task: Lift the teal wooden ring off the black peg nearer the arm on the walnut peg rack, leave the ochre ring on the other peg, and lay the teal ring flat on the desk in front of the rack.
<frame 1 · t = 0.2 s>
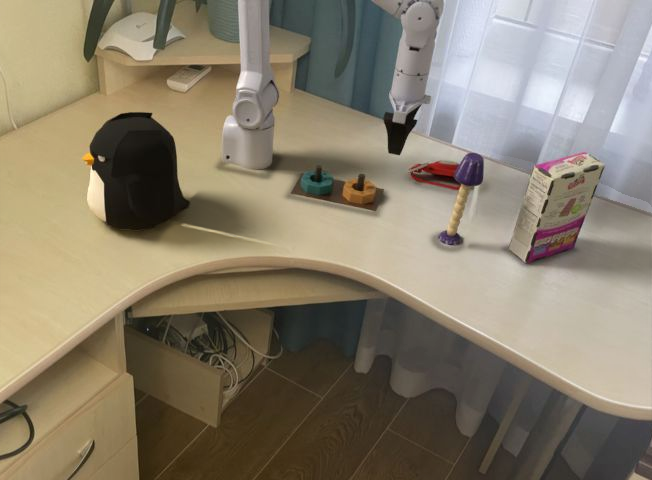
hand: (398, 143, 133), 10 cm above the table, tool pointing down, fingers open, 7 cm apart
ochre ring: (358, 195, 137), point 1 cm above the table, touching peg rack
candy bar box: (539, 250, 129), on the table
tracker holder: (437, 179, 145), on the table
teal ring: (316, 186, 139), point 1 cm above the table, touching peg rack
peg rack: (337, 194, 139), on the table
penguin: (141, 214, 131), on the table
toy lamp: (449, 244, 129), on the table
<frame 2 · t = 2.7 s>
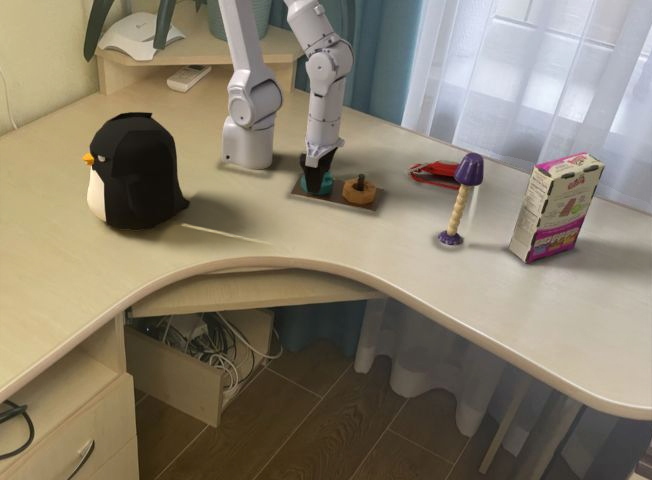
hand: (317, 183, 138), 2 cm above the table, tool pointing down, fingers closed on teal ring, 6 cm apart
teal ring: (316, 186, 139), point 1 cm above the table, touching gripper, peg rack
everything else where it was.
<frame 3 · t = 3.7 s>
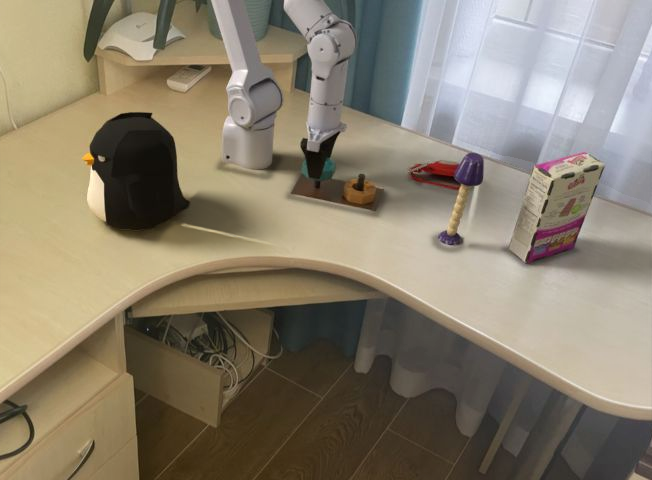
hand: (318, 169, 136), 4 cm above the table, tool pointing down, fingers closed on teal ring, 6 cm apart
teal ring: (318, 172, 137), point 4 cm above the table, touching gripper
everything else where it was.
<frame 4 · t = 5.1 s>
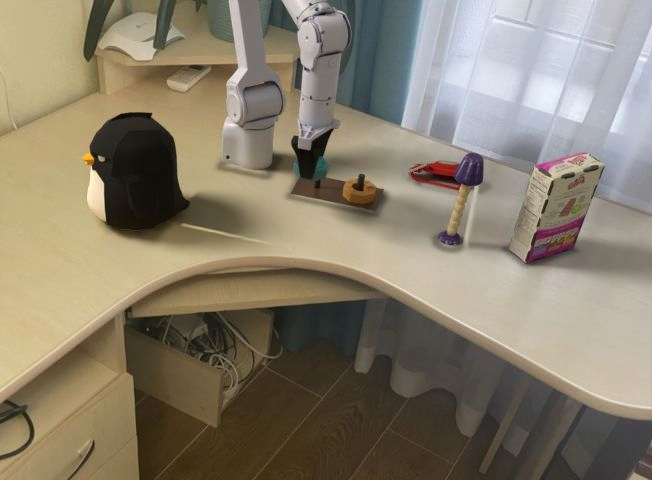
hand: (310, 168, 129), 8 cm above the table, tool pointing down, fingers closed on teal ring, 6 cm apart
teal ring: (310, 172, 129), point 8 cm above the table, touching gripper
everything else where it was.
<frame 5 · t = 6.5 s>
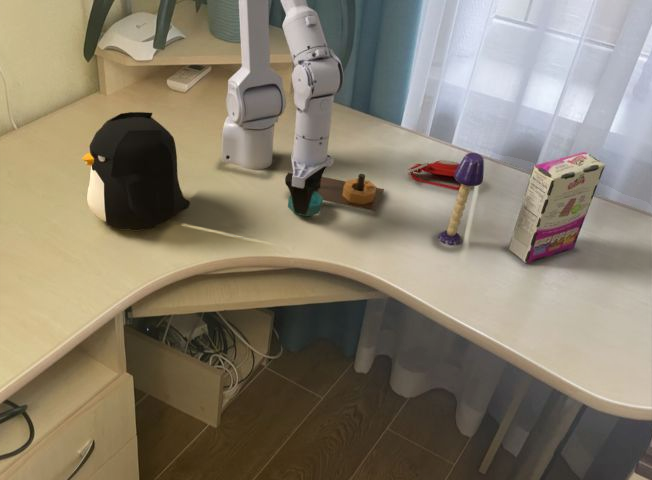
hand: (305, 203, 131), 2 cm above the table, tool pointing down, fingers closed on teal ring, 6 cm apart
teal ring: (304, 206, 132), point 2 cm above the table, touching gripper
everything else where it was.
when the fingers open (1 cm above the table, at t = 7.7 s): teal ring stays where it is, on the table.
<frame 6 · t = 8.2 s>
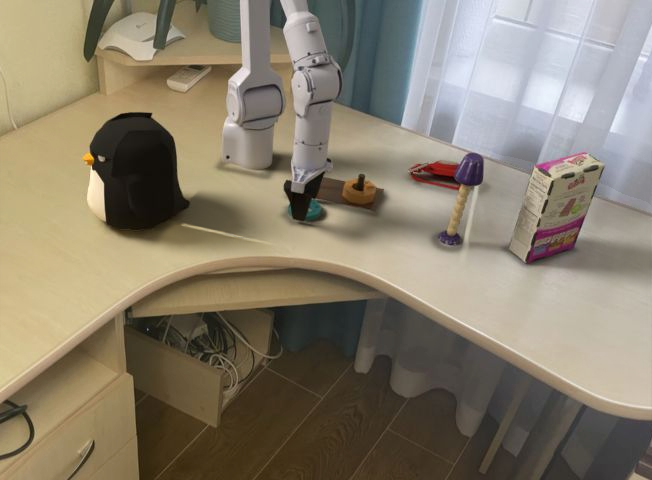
hand: (304, 208, 132), 2 cm above the table, tool pointing down, fingers open, 7 cm apart
teal ring: (304, 215, 133), on the table
everything else where it was.
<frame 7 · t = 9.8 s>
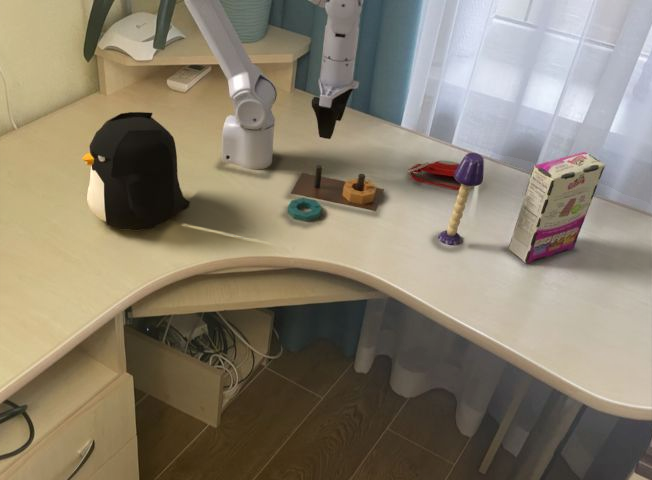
hand: (330, 128, 138), 9 cm above the table, tool pointing down, fingers open, 7 cm apart
nothing on the table moved.
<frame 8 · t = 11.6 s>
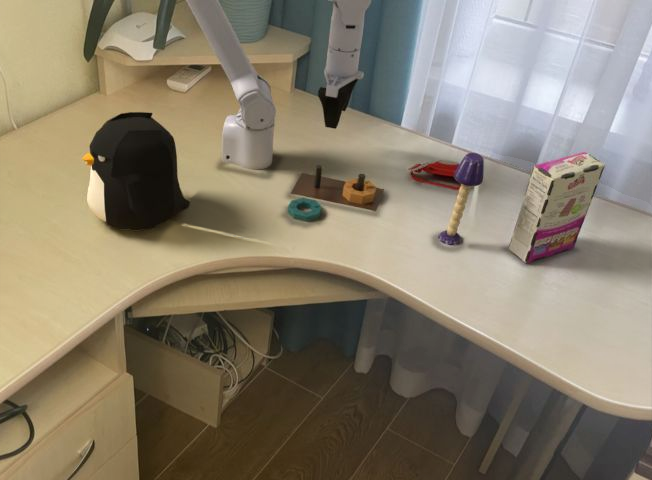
hand: (335, 118, 141), 9 cm above the table, tool pointing down, fingers open, 7 cm apart
nothing on the table moved.
at the end: teal ring inside the target area (0.8 cm from its centre), on the table; teal ring tilted 0°; ochre ring moved 0.0 cm from its start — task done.
